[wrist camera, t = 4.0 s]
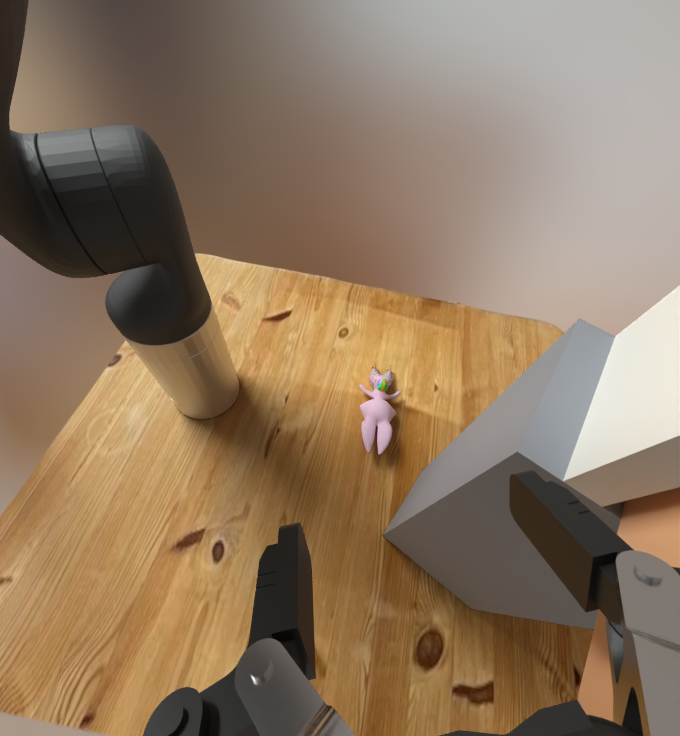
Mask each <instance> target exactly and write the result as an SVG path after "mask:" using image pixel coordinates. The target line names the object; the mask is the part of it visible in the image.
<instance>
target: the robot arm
mask: <svg viewBox="0 0 680 736" xmlns="http://www.w3.org/2000/svg"><path fill="white" fill-rule="evenodd" d="M27 8H28V0H0V235H2V236H3V237H4V238H5V239H7V240H8V241H9V242H10V243H12V244H13V245H14V246H15V247H17V248H18V249H19V250H21V251H22V252H23V253H25V254H26V255H27V256H29V257H30V258H32V259H33V260H34V261H36V262H37V263H39V264H40V265H42V266H43V267H45V268H47V269H48V270H51V271H53V272H55V273H57V274H60V275H62V276H66V277H71V278H90V277H97V276H103V275H107V274H112V273H117V272H121V271H124V272H123V273H122V274H120V275H119V276H118V277H117V278H116V279H115V280H114V282H113V283H112V284H111V286H110V288H109V290H108V292H107V295H106V301H105V304H106V309H107V313H108V315H109V317H110V319H111V320H112V322H113V323H114V325H115V326H116V327H117V328H118V330H119V331H120V332H121V334H122V335H123V336H124V338H125V339H126V340H127V342H128V343H129V344H130V346H131V347H132V348H133V350H134V351H135V352H136V353H137V355H138V356H139V357H140V359H141V360H142V361H143V363H144V364H145V365H146V367H147V368H148V369H149V371H150V372H151V373H152V375H153V376H154V377H155V379H156V380H157V381H158V383H159V384H160V385H161V387H162V388H163V389H164V391H165V392H166V393H167V395H168V396H169V398H170V399H171V400H172V402H173V403H174V404H175V406H176V407H177V408H178V410H179V411H181V412H182V413H183V414H184V415H186V416H188V417H191V418H195V419H208V418H212V417H215V416H218V415H220V414H222V413H224V412H225V411H226V410H228V409H229V408H230V407H231V406H232V405H233V404H234V402H235V400H236V399H237V397H238V394H239V387H240V385H239V380H238V377H237V374H236V371H235V368H234V365H233V362H232V359H231V357H230V354H229V351H228V348H227V345H226V342H225V339H224V336H223V333H222V330H221V328H220V325H219V322H218V319H217V316H216V313H215V311H214V308H213V305H212V302H211V299H210V296H209V293H208V291H207V288H206V285H205V283H204V280H203V278H202V275H201V272H200V269H199V266H198V264H197V261H196V257H195V254H194V250H193V247H192V243H191V240H190V236H189V232H188V229H187V225H186V221H185V217H184V214H183V210H182V206H181V203H180V200H179V196H178V193H177V190H176V187H175V183H174V181H173V178H172V175H171V173H170V170H169V168H168V165H167V163H166V161H165V159H164V157H163V155H162V153H161V151H160V150H159V148H158V147H157V145H156V144H155V142H154V141H153V140H152V139H151V137H150V136H149V135H148V134H146V133H145V131H143V130H142V129H140V128H139V127H136V126H132V125H115V126H103V127H94V128H84V129H74V130H63V131H54V132H45V133H39V134H37V133H34V134H21V133H17V132H14V131H11V130H10V127H9V111H10V105H11V100H12V95H13V91H14V86H15V81H16V77H17V72H18V66H19V61H20V55H21V50H22V44H23V38H24V32H25V24H26V16H27ZM509 506H510V511H511V514H512V516H513V518H514V520H515V522H516V523H517V525H518V526H519V527H520V529H521V530H522V531H523V532H524V534H525V535H526V536H527V538H528V539H529V540H530V541H531V543H532V544H533V545H534V547H535V548H536V549H537V550H538V552H539V553H540V554H541V556H542V557H543V558H544V559H545V561H546V562H547V563H548V565H549V566H550V567H551V568H552V570H553V571H554V572H555V574H556V575H557V576H558V577H559V579H560V580H561V581H562V583H563V584H564V585H565V586H566V588H567V589H568V590H569V592H570V593H571V594H572V596H573V597H574V598H575V599H576V601H577V602H578V603H579V605H580V606H581V607H582V608H583V610H584V611H585V612H590V611H594V610H598V609H599V610H600V611H601V612H602V613H603V614H604V616H605V617H606V633H607V642H608V650H609V659H610V668H611V677H612V686H613V722H612V721H609V720H607V719H604V718H601V717H597V716H593V715H586V713H585V711H584V710H583V708H582V707H581V705H580V703H579V702H578V700H575V701H571V702H567V703H563V704H559V705H555V706H551V707H548V708H544V709H540V710H538V711H537V712H536V713H534V714H533V715H532V716H530V717H529V718H528V719H527V720H525V721H524V722H523V723H521V724H520V725H519V726H517V727H516V728H515V729H514V730H512V731H511V732H510V733H508V734H505V735H498V734H489V733H479V732H470V731H460V730H459V731H455V732H451V733H448V734H444V735H440V736H680V568H677V567H671V566H670V565H669V564H667V563H666V562H665V561H663V560H661V559H660V558H658V557H656V556H653V555H651V554H648V553H645V552H641V551H635V550H634V549H632V548H631V547H630V546H629V545H628V544H627V543H626V542H625V541H624V540H622V539H621V538H620V537H619V536H618V535H617V534H616V533H615V532H614V531H613V530H612V529H610V528H609V527H608V526H607V525H606V524H605V523H604V522H603V521H602V520H601V519H599V518H598V517H597V516H596V515H595V514H594V513H593V512H592V513H591V511H590V509H589V508H587V507H586V506H585V505H584V504H583V503H581V502H580V500H579V499H578V498H576V497H575V496H574V495H573V494H572V493H571V492H570V491H569V490H568V489H566V488H564V487H562V486H560V485H558V484H556V483H555V482H553V481H549V482H545V481H544V480H543V479H542V478H541V477H540V476H539V475H538V474H537V473H536V472H535V471H533V470H529V471H524V472H520V473H515V474H511V475H510V486H509ZM315 678H316V675H315V646H314V618H313V589H312V566H311V559H310V554H309V550H308V546H307V543H306V540H305V536H304V533H303V530H302V526H301V524H300V522H299V523H294V524H290V525H286V526H281V527H280V528H279V535H278V544H274V545H269V546H267V547H266V549H265V551H264V553H263V555H262V557H261V559H260V561H259V569H258V578H257V584H256V592H255V599H254V607H253V615H252V623H251V630H250V638H249V643H248V646H247V649H246V651H245V652H244V654H243V655H242V657H241V658H240V660H239V662H238V665H237V666H236V667H235V668H234V669H233V670H232V671H231V672H230V673H229V674H228V675H227V676H225V677H224V678H222V679H221V680H219V681H218V682H216V683H215V684H213V685H212V686H210V687H208V688H207V689H205V690H204V691H202V692H201V693H199V692H198V691H197V690H195V689H194V688H190V687H185V688H181V689H178V690H176V691H174V692H173V693H171V694H170V695H168V696H167V697H166V698H165V699H164V700H163V701H162V702H161V703H160V704H159V705H158V707H157V708H156V709H155V711H154V712H153V714H152V715H151V717H150V719H149V721H148V723H147V725H146V728H145V731H144V734H143V736H355V735H354V734H353V732H352V731H351V730H350V728H349V727H348V726H347V724H346V723H345V722H344V720H343V719H342V718H341V716H340V715H339V714H338V713H337V711H336V710H335V709H334V708H333V707H332V706H330V705H329V706H328V705H327V704H326V703H325V702H324V701H323V700H322V698H321V697H320V696H319V694H318V693H317V692H316V690H315V689H314V687H313V686H312V685H311V683H310V682H309V681H308V680H311V679H315Z"/></svg>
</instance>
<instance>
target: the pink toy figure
mask: <svg viewBox="0 0 680 736" xmlns="http://www.w3.org/2000/svg"><path fill="white" fill-rule="evenodd" d="M390 366H391V364H390ZM371 368H373V370H372V371H371V373H370V375H369V381H370V384H371V385H372V387H373V388H374V391H373V392H370V391H368V390H366V389H365V388H364V386H363V385H362V384H360V385H359V387H360V388H361V389H362V390H363V391H364V392H365V393H366V394H367V395H368V396H370V397H372V398H373V399H371V400H369V401H367V402H365V403H363V404H362V405H361V406H360V410H361V412H362V415H363V417H364V419H365V420H364V421H363V422H362V425H361V429H362V437H363V441H364V445H365V448H366V450H367V452H370V450H371V447H372V445H373V442H374V437H375V430H376V426H377V427H378V431H377V446H378V454H382V453H383V451H384V450H385V449H386V447H387V446H388V444H389V442H390V439H391V436H392V427H391V425H390V421H391V420H392V418H393V417H394V416H395V410H394V409H393V408H392V407H391V405H390V404H389V403H388V402H387V401H385V400H389V399H392V398H395V397H396V396H398V395H400V393H401V392H400V391H397V392H396V393H395V394H393V395H387V394H386V393H385V391H387V389H388V387H389V386H390V385H391V384H392V375H391V368H390V367H389V368H388V369H387V370H386V371H388V372H386V373H385V374H384V375H380V374H379V373H378V372H377V370H376V369H377V368H376V367H375V364H374V365H373V366H372V367H371Z"/></svg>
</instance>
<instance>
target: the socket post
mask: <svg viewBox="0 0 680 736" xmlns="http://www.w3.org/2000/svg"><path fill="white" fill-rule="evenodd" d="M529 470H533V471H535V472H536V473H537V474H538V475H539V476H540V477H541V478H542V479H543V480H544V481H545V482H549V481H553V482H555V483H556V484H558V485H560V486H562V487H564V488H566V489H568V490H569V491H570V492H571V493H572V494H573V495H574V496H575V497H576V498H578V499H579V500H580V502H581V503H583V504H584V505H585V506H586V507H587V508H589V509H590V511H591V513H592V512H593V513H594V514H595V515H596V516H597V517H598V518H599V519H601V520H602V521H603V522H604V523H605V524H606V525H607V526H608V527H609V528H610V529H612V530H613V531H614V532H615V533H616V534H617V532H618V528H619V524H620V520H621V518H622V512H623V508H624V503H625V501H627V500H631V499H635V498H639V497H643V496H647V495H651V494H654V493H658V492H662V491H666V490H670V489H674V488H678V487H680V286H678V287H677V288H676V289H674V290H673V291H672V292H671V293H669V294H668V295H667V296H666V297H664V298H663V299H662V300H661V301H659V302H658V303H657V304H656V305H654V306H653V307H652V308H651V309H649V310H648V311H647V312H646V313H644V314H643V315H642V316H641V317H639V318H638V319H637V320H636V321H634V322H633V323H632V324H630V325H629V326H628V327H627V328H625V329H624V330H623V331H622V332H621V333H619V334H618V335H617V336H613V335H611V334H609V333H607V332H605V331H603V330H601V329H599V328H598V327H595V326H594V325H592V324H590V323H588V322H586V321H584V320H582V319H580V318H579V319H578V320H577V321H576V322H575V323H574V324H573V325H572V326H571V327H570V328H569V329H568V330H567V331H566V332H565V333H564V334H563V335H562V336H561V337H560V338H559V339H558V340H557V341H556V342H555V343H554V344H553V345H552V346H551V347H550V348H548V349H547V350H546V351H545V352H544V353H543V354H542V355H541V356H540V357H539V358H538V359H537V360H536V361H535V362H534V363H533V364H532V365H531V366H530V367H529V368H528V369H527V370H526V371H525V372H524V373H523V374H522V375H521V376H520V377H519V378H517V379H516V380H515V381H514V382H513V383H512V384H511V385H510V386H509V387H508V388H507V389H506V390H505V391H504V392H503V393H502V394H501V395H500V396H499V397H498V398H497V399H496V400H495V401H494V402H493V403H492V404H491V405H490V406H489V407H488V408H487V409H485V410H484V411H483V412H482V413H481V414H480V415H479V416H478V417H477V418H476V419H475V420H474V421H473V422H472V423H471V424H470V425H469V426H468V427H467V428H466V429H465V430H464V431H463V432H462V433H461V434H460V435H459V436H458V437H457V438H456V439H454V440H453V441H452V442H451V443H450V444H449V445H448V446H447V447H446V448H445V449H444V450H443V451H442V452H441V453H440V454H439V455H438V456H437V457H436V458H435V459H434V460H433V461H432V462H431V463H430V464H429V465H428V466H427V467H426V468H425V469H423V471H422V472H421V474H420V475H419V477H418V479H417V480H416V482H415V483H414V485H413V487H412V488H411V490H410V491H409V493H408V495H407V496H406V498H405V499H404V501H403V503H402V504H401V506H400V508H399V509H398V511H397V512H396V514H395V516H394V517H393V519H392V520H391V522H390V524H389V525H388V527H387V528H386V530H385V532H384V533H383V535H382V536H384V537H385V538H386V539H387V540H388V541H390V542H391V543H392V544H393V545H395V546H396V547H397V548H398V549H399V550H401V551H402V552H403V553H404V554H405V555H407V556H408V557H409V558H410V559H411V560H413V561H414V562H415V563H416V564H417V565H419V566H420V567H421V568H422V569H424V570H425V571H426V572H427V573H428V574H430V575H431V576H432V577H433V578H434V579H436V580H437V581H438V582H439V583H440V584H442V585H443V586H444V587H445V588H446V589H448V590H449V591H450V592H451V593H453V594H454V595H455V596H456V597H457V598H459V599H460V600H461V601H462V602H463V603H465V604H466V605H467V606H468V607H469V608H471V609H474V610H480V611H485V612H491V613H497V614H503V615H509V616H515V617H521V618H527V619H533V620H538V621H544V622H550V623H556V624H562V625H568V626H574V627H580V628H586V629H591V630H594V628H595V623H596V619H597V615H598V611H599V609H598V610H594V611H590V612H585V611H584V610H583V608H582V607H581V606H580V605H579V603H578V602H577V601H576V599H575V598H574V597H573V596H572V594H571V593H570V592H569V590H568V589H567V588H566V586H565V585H564V584H563V583H562V581H561V580H560V579H559V577H558V576H557V575H556V574H555V572H554V571H553V570H552V568H551V567H550V566H549V565H548V563H547V562H546V561H545V559H544V558H543V557H542V556H541V554H540V553H539V552H538V550H537V549H536V548H535V547H534V545H533V544H532V543H531V541H530V540H529V539H528V538H527V536H526V535H525V534H524V532H523V531H522V530H521V529H520V527H519V526H518V525H517V523H516V522H515V520H514V518H513V516H512V514H511V511H510V506H509V486H510V475H511V474H515V473H520V472H524V471H529Z"/></svg>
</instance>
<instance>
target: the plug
mask: <svg viewBox="0 0 680 736" xmlns="http://www.w3.org/2000/svg"><path fill="white" fill-rule="evenodd" d="M617 535H618V536H619V537H620V538H621V539H622V540H624V541H625V542H626V543H627V544H628V545H629V546H630V547H631V548H632V549H634V550H635V551H641V552H645V553H648V554H651V555H653V556H656V557H658V558H660V559H661V560H663V561H665V562H666V563H667V564H669V565H670V566H671V567H677V568H680V487H678V488H674V489H670V490H666V491H662V492H658V493H654V494H651V495H647V496H643V497H639V498H635V499H631V500H627V501H625V503H624V508H623V512H622V518H621V520H620V524H619V528H618V532H617ZM577 700H578V702H579V703H580V705H581V707H582V708H583V710H584V711H585V713H586V715H593V716H597V717H601V718H604V719H607V720H609V721H612V722H613V686H612V677H611V668H610V659H609V650H608V642H607V633H606V617H605V616H604V614H603V613H602V612H601V611H600V610H599V611H598V615H597V619H596V623H595V628H594V632H593V636H592V640H591V644H590V648H589V652H588V656H587V661H586V665H585V669H584V673H583V677H582V681H581V685H580V690H579V694H578V698H577Z"/></svg>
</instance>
